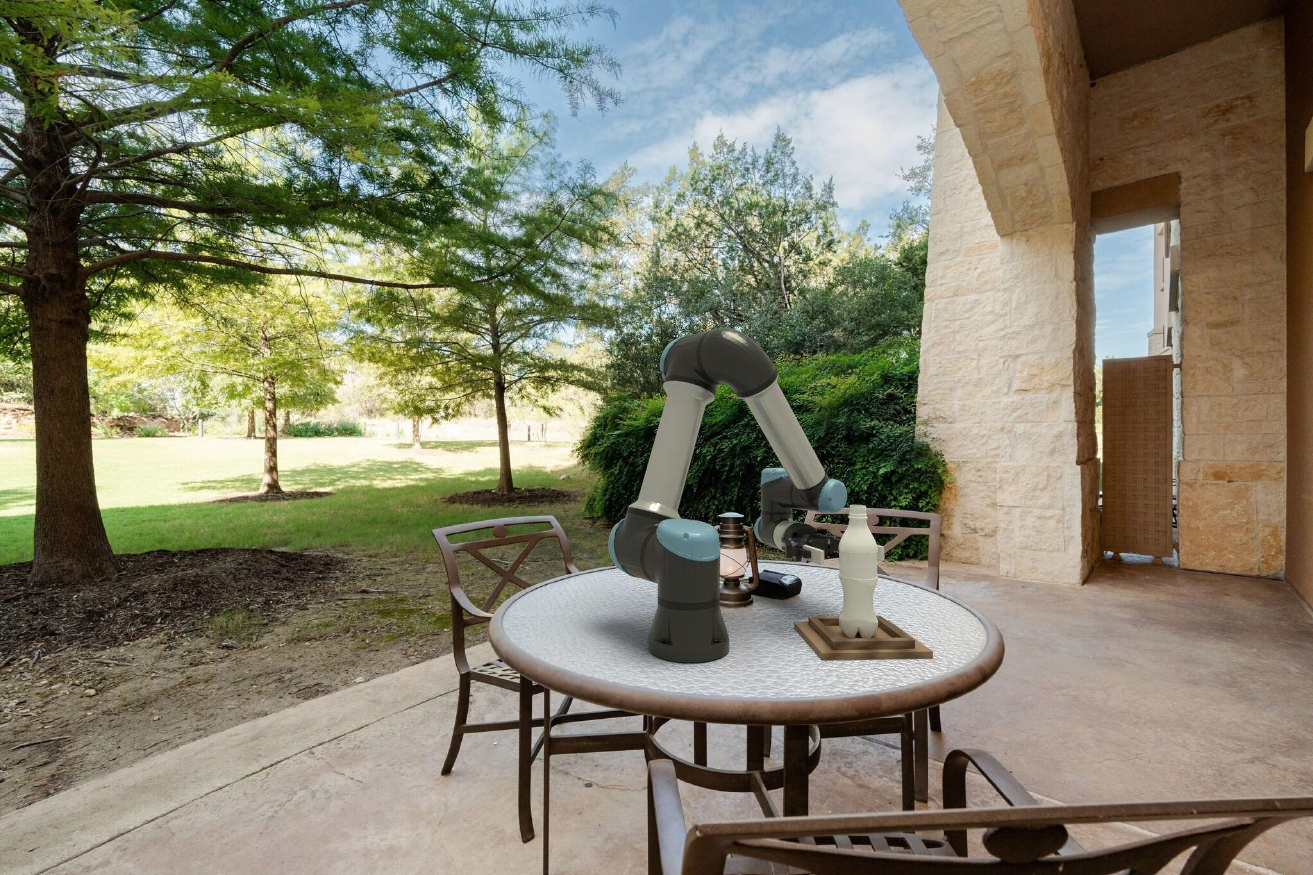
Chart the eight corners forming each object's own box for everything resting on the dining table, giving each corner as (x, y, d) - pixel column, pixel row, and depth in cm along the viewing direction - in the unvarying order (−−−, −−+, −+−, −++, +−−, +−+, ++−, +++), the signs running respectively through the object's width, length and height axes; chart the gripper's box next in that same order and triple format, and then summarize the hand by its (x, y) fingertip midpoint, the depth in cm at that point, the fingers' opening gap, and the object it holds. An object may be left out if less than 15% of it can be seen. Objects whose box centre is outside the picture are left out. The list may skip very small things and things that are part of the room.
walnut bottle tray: (822, 660, 104) (822, 644, 104) (794, 627, 122) (794, 614, 122) (932, 658, 104) (932, 642, 104) (888, 626, 122) (888, 613, 122)
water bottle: (838, 639, 111) (838, 507, 111) (839, 627, 118) (838, 503, 118) (879, 643, 109) (878, 508, 109) (877, 631, 115) (876, 504, 115)
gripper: (747, 524, 131) (796, 540, 111) (843, 519, 138) (906, 533, 118) (747, 558, 131) (796, 579, 111) (844, 551, 138) (906, 570, 118)
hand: (853, 555), depth 114 cm, fingers open, 13 cm apart
